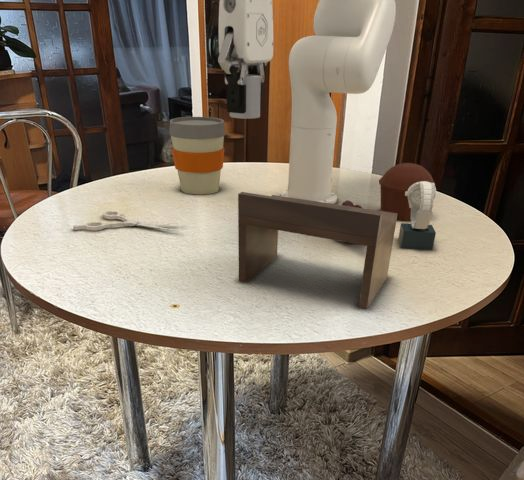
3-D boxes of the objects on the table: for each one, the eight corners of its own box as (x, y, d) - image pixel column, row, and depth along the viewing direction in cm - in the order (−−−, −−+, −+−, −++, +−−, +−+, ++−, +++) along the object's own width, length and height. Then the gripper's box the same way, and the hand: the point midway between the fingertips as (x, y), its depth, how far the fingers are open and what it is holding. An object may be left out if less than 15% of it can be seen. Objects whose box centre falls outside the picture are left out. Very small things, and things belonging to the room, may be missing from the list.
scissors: (100, 209, 103) (193, 217, 100) (100, 213, 104) (193, 221, 100) (72, 226, 95) (173, 235, 91) (73, 230, 95) (174, 239, 91)
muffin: (381, 203, 114) (388, 156, 109) (432, 210, 111) (441, 162, 105) (369, 218, 105) (375, 167, 100) (423, 226, 101) (433, 174, 96)
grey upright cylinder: (238, 113, 87) (238, 73, 84) (265, 115, 85) (266, 75, 82) (224, 116, 83) (223, 75, 80) (251, 119, 81) (251, 76, 78)
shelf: (270, 255, 87) (273, 175, 80) (387, 277, 80) (401, 192, 73) (238, 281, 78) (238, 193, 71) (366, 309, 71) (380, 215, 64)
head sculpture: (426, 237, 96) (438, 177, 90) (434, 253, 89) (447, 189, 83) (396, 236, 96) (406, 176, 90) (401, 251, 90) (412, 187, 84)
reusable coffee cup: (162, 189, 120) (156, 120, 112) (200, 179, 129) (198, 114, 121) (199, 199, 114) (195, 127, 106) (237, 189, 122) (237, 121, 114)
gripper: (240, -34, 66) (240, 119, 76) (292, -22, 79) (287, 107, 89) (191, -33, 69) (197, 114, 78) (249, -22, 82) (248, 104, 91)
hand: (245, 109), depth 83 cm, fingers closed on grey upright cylinder, 5 cm apart
